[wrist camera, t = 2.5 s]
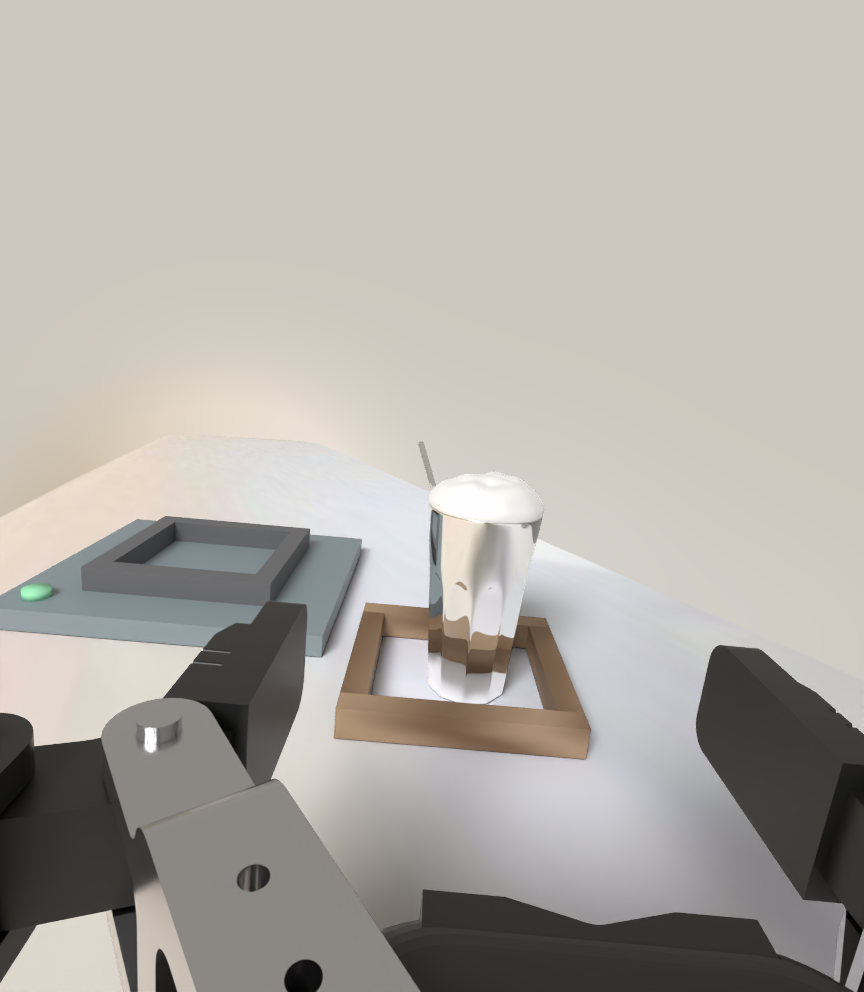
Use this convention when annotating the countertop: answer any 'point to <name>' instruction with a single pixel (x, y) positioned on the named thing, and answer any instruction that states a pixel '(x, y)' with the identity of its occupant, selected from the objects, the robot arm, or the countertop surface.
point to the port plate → (186, 582)
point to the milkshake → (477, 579)
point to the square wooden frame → (456, 722)
